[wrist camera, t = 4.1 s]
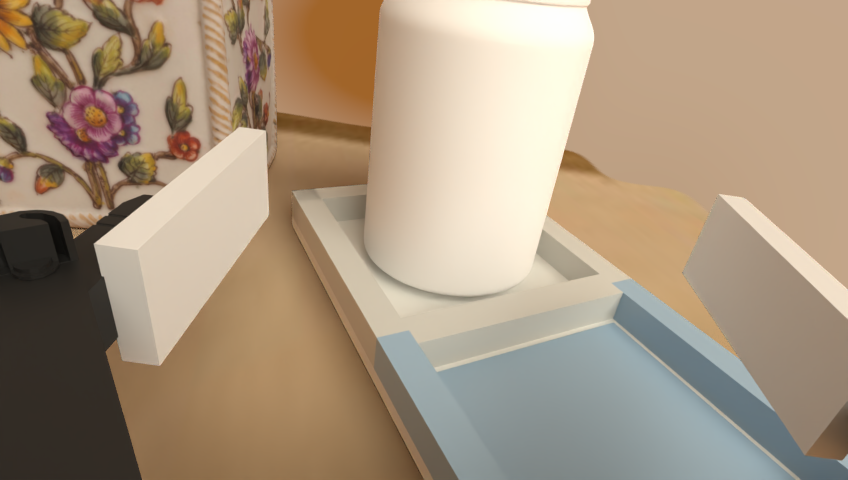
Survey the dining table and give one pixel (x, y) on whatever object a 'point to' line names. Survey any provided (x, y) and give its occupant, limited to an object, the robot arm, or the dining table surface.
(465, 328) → the divided tray
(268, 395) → the dining table surface
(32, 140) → the decorative jar
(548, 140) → the beverage can
